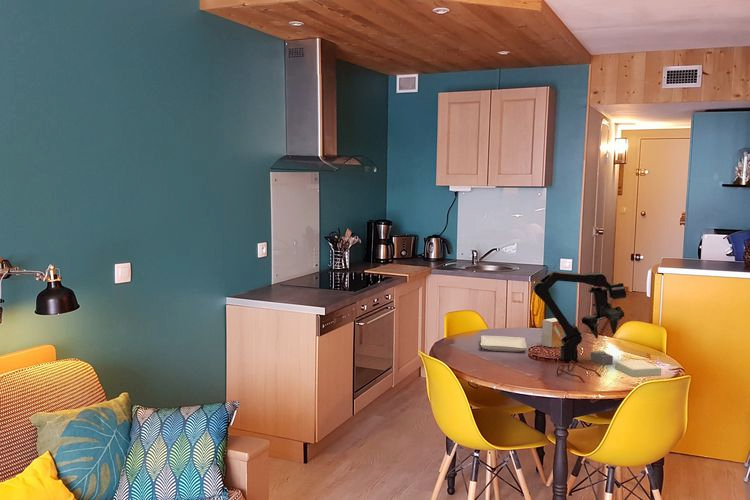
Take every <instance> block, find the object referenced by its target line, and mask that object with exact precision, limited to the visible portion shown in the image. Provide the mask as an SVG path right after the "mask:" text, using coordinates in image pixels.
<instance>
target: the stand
mask: <svg viewBox="0 0 750 500" xmlns="http://www.w3.org/2000/svg"><path fill="white" fill-rule="evenodd" d="M614 369H616V370H618V371H620V372H622V373H624V374H626V375H629V376H630V377H632V378H633V377H634V378H635V377H636V378H637V377H651V376H652V377H653V376H661V375H662V367H659V366H656V365H655V364H652V363H650V362H647V361H645V360H643V359H638V360H636V359H635V360H620V361H619V360H616V361H614Z"/></svg>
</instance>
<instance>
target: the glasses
mask: <svg viewBox="0 0 750 500" xmlns="http://www.w3.org/2000/svg"><path fill="white" fill-rule="evenodd" d="M571 364H572V367H571V368H570V366H571ZM575 366H577V367H580V368H581V369H584V370H585V371H591V372H594V373H595V374H596V375H597V376H598V377H602V375H601V374H600V373H599V372H598V371H597V370H595V369H593V368H587V367H585V366H582V365H581V364H578V363H577V362H575V361H573V360H572V361H571V362H568V364H567V363H566V364H563V363H561V364H559V365H558V366H557V368H556V375H558V376H560V375H561V374H563V373H564V374H567V375H569V376H571V377H576V378H579V379H580V381H582V383H584V384H586V381H585V380H584V379H583V378H582V376H581V375H579V374H573V373H570V372H571V371H573V370H574V368H575ZM561 367H562V368H561ZM566 367H567V371H566V370H564V368H566ZM559 371H560V372H559Z"/></svg>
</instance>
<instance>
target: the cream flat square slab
mask: <svg viewBox="0 0 750 500" xmlns="http://www.w3.org/2000/svg"><path fill="white" fill-rule="evenodd" d="M480 339H481V340H480V346H481V347H482V349H485V350H487V351H494V352H512V353H514V352H517V353H518V352H524V351H525V350H527V348H528V346H527V343H526V339H525V337H517V336H505V335H504V336H503V335H481V336H480Z"/></svg>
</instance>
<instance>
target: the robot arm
mask: <svg viewBox="0 0 750 500" xmlns="http://www.w3.org/2000/svg"><path fill="white" fill-rule="evenodd" d="M557 282H569V283H581V284H582V283H583V284H586V285H590V288H589V289H588V290H587V292H589V293H591V294H592V293H593V294H592V295H593V302H594V303H592V307H594V310H595V312H593V315H586V316H582V318H581V324H584V325H585V326H587V327H588V329H589V330H590V331H591V333H592V334H593V336H594V338H595V339H599V332H598V326H599V323H598V321H601V320H606V319H607V320H608V321H609V324H610V325H609V326H610V328H611V329H610V330H611V333H612V334H613V335H615V334H616V331H617V328H618V324H619V322H620V321H621V320H623V318H624V317H625V316H626V315H625V312H624V310H622V307H621V306H616V307H612V304H611V302H609V299H611V300H612V301H614V300H621V299H626V298H627V291H626V289H625V286H624V282H623V283H622V282H619V283H613V284H611V283H610V282H608V281H607V277H606V276H605V275H604V274H603V273H601V272H599V271H596V272H588V273H587V272H586V273H576V272H575V273H574V272H564V271H556V270H553V271H551V272H550V273H549V274H547V275H546V276H544V277H543V278H542V279H540V280H537V281H535V282H534V283H533V284H532V291H533V293H535V295H536V296H537V297H539V299H540V300H542V302H543V303H544V304H545V305H546V306H547V308H548V310H549V311H550V312H551V314H552V315H553V316H554V318H556V319H557V321H558V322H559V324H560V325H561V326H562V329H563V334H564V336H563V339H561V342H562V346H561V347H560V357H558V360H560V361H562V362H564V363H570V362H571V361H572V360H573V361H575V363H577V362H579V358H578V357H579V355H578V354H579V350H578V345H580V344H581V343H582V341H583V336H582V335H583V334H582V332H581V331H580V330H579V329H578V326H576V324H575V323H572V324H571V323H570V322H569V321H568V319H567V318H566V316H565V315H564V314H563V312H562V311H561V310H560V308H559V307H558V305H557V304H556V302H555V301H554V300H553V297H552V295H551V293H550V291H549V289H550V288H551V287H553V286H554V285H555V283H557ZM593 286H594V287H593Z"/></svg>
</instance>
